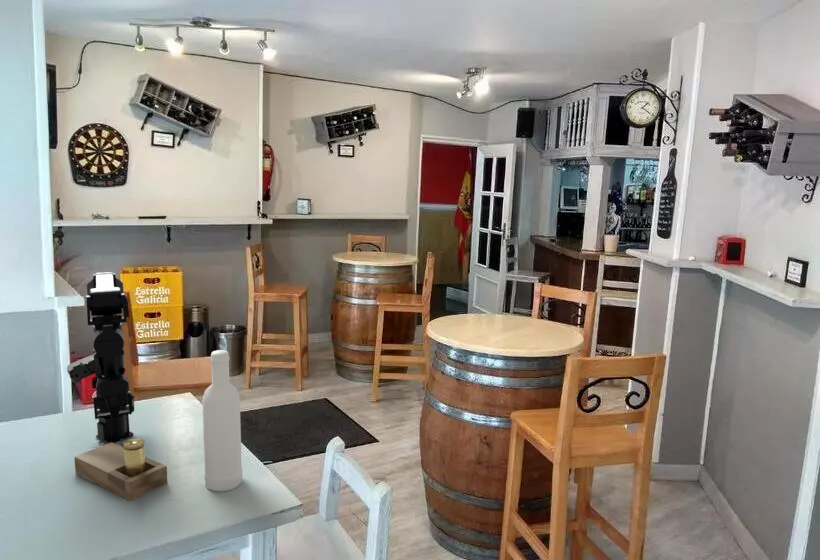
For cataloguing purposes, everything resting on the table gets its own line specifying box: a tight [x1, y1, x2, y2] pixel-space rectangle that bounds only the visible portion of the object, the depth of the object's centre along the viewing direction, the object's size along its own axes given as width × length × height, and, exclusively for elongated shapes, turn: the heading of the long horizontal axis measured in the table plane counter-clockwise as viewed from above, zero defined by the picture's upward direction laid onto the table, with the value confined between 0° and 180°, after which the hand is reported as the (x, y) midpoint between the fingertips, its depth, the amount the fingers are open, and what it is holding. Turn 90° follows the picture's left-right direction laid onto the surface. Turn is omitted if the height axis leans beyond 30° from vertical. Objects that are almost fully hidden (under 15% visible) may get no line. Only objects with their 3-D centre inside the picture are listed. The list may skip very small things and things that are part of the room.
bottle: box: [201, 349, 243, 492], centre depth 136 cm, size 8×8×30 cm
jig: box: [73, 442, 168, 501], centre depth 139 cm, size 9×20×4 cm, turn 58°
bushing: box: [122, 437, 146, 478], centre depth 136 cm, size 4×4×10 cm
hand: (113, 410), depth 144 cm, fingers open, 9 cm apart
